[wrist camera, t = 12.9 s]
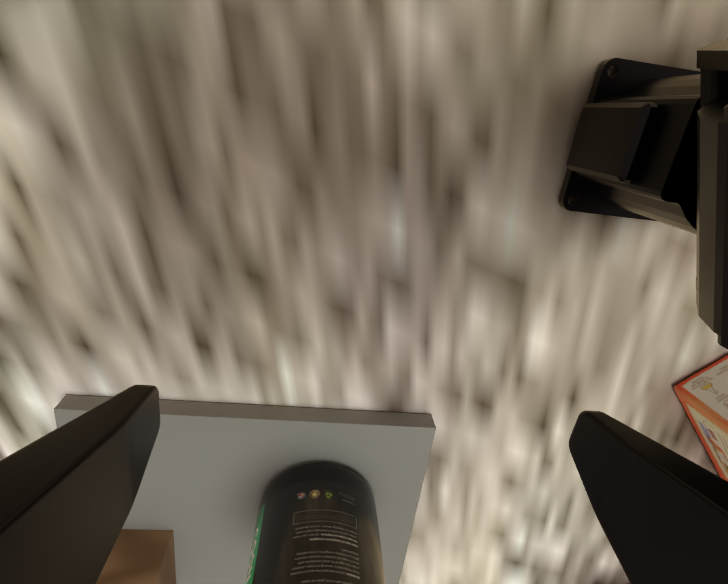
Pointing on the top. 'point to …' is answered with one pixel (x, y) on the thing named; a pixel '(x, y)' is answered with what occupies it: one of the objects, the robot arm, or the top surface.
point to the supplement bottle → (316, 529)
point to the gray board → (265, 474)
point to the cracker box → (709, 410)
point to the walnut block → (141, 558)
